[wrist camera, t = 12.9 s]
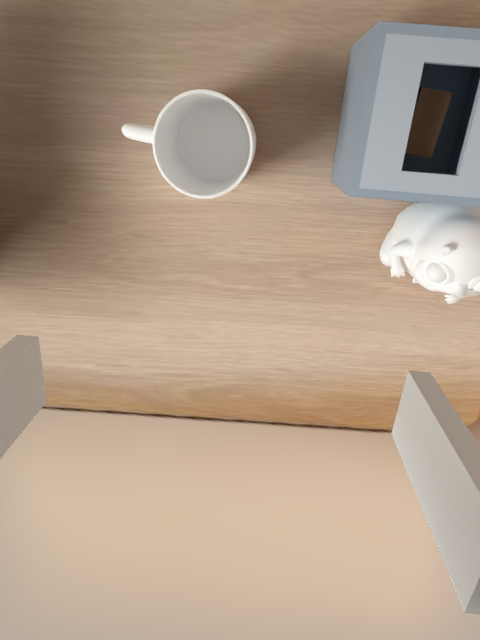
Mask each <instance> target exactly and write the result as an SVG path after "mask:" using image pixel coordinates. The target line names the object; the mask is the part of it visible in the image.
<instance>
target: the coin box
mask: <svg viewBox="0 0 480 640" xmlns="http://www.w3.org/2000/svg"><path fill="white" fill-rule="evenodd" d="M420 87H425V88H430V89H435V90H441V91H446V92H451V93H452V96H451V99H450V102H449V105H448V108H447V111H446V114H445V117H444V120H443V124H442V127H441V130H440V133H439V136H438V139H437V142H436V145H435V148H434V151H433V154H432V157H431V158H427V157H422V156H416V155H411V154H406V153H405V151H406V147H407V142H408V137H409V132H410V128H411V123H412V118H413V113H414V109H415V104H416V99H417V94H418V90H419V88H420ZM331 182H332V183H333V184H335V185H336V186H337V187H338V188H339V189H341V190H342V191H343V192H344V193H345V194H347V195H348V196H351V197H363V198H375V199H387V200H399V201H411V202H423V203H435V204H447V205H459V206H471V207H480V29H479V28H466V27H453V26H440V25H426V24H413V23H400V22H386V21H378V22H377V23H376V24H375V25H374V26H373V27H372V28H370V29H369V30H368V31H367V32H366V33H365V34H364V35H363V36H362V37H361V38H360V39H359V40H358V41H357V42H356V43H355V44H354V45H353V46H352V47H351V50H350V57H349V63H348V70H347V76H346V83H345V90H344V96H343V103H342V110H341V116H340V123H339V130H338V136H337V143H336V149H335V156H334V163H333V169H332V176H331Z"/></svg>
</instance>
